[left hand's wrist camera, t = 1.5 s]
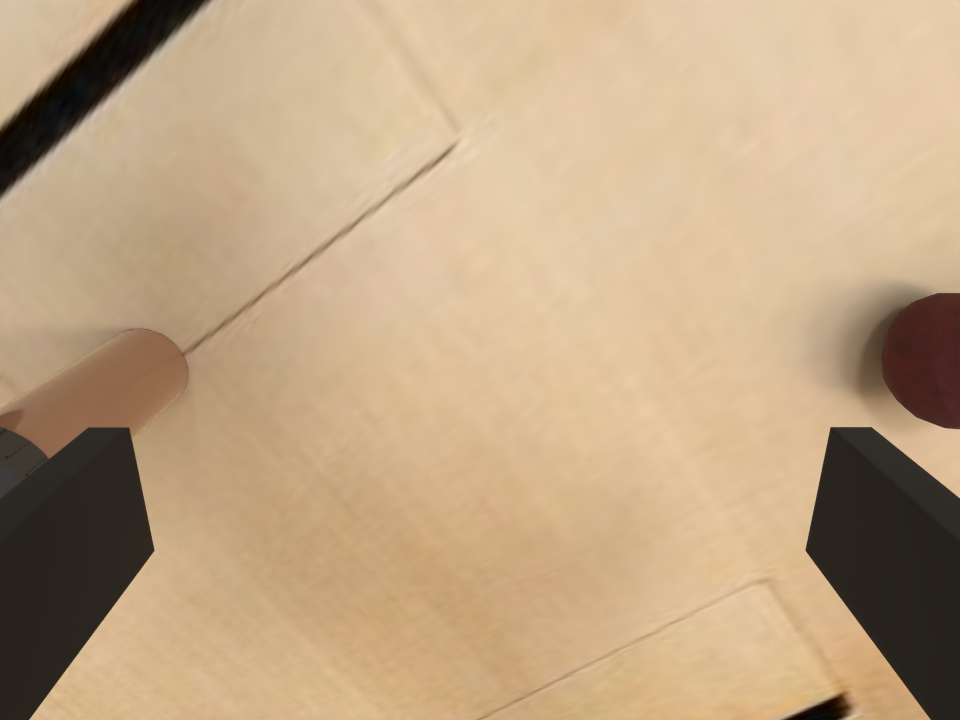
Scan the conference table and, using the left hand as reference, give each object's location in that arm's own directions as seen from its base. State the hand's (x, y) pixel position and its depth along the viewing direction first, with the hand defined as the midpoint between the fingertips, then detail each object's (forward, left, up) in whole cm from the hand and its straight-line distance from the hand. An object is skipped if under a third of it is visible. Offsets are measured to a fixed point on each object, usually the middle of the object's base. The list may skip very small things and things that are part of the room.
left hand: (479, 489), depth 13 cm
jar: (+8, -21, -28) cm, 36 cm away
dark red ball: (+6, +27, -28) cm, 39 cm away
